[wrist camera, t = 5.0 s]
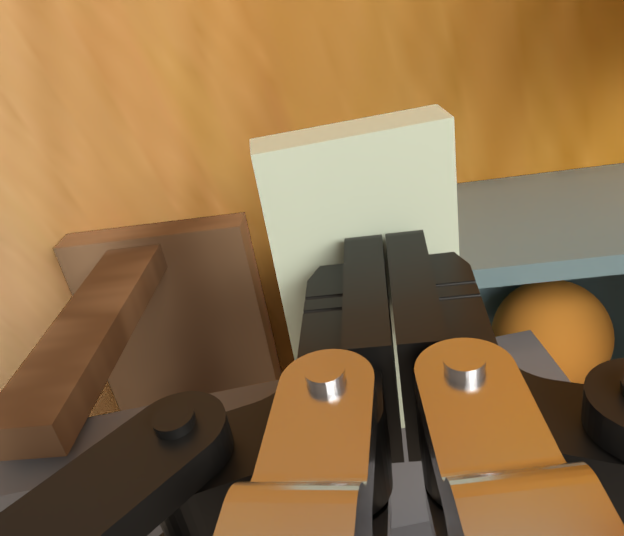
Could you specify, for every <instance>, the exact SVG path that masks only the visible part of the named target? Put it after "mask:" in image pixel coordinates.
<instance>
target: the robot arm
mask: <svg viewBox="0 0 624 536" xmlns="http://www.w3.org/2000/svg"><path fill="white" fill-rule="evenodd" d="M385 238H386V248H387V258H388V267H389V277H390V287H391V296H392V306H393V316H394V326H395V335H396V345H397V355H398V364H399V374H400V383H401V393H402V402H403V412H404V421H405V431H406V440H407V450H408V459H409V462H415V461H422V469H423V476H424V485H425V496H426V506H427V511H428V516H429V521H430V525H431V530H432V534H433V536H624V358H619V359H613V360H609V361H606V362H603V363H601V364H599V365H597V366H596V367H594V368H593V369H592V370H591V371H590V372H589V373H588V374H587V376H586V378H585V381H584V384H580V383H573V382H566V381H558V380H552V379H547V378H542V377H539V376H535V375H533V374H530V373H528V372H525V371H523V370H521V369H520V368H518V366H517V364H516V362H515V360H514V359H513V357H512V356H511V355H510V354H509V353H508V352H507V351H506V350H505V349H503V348H502V347H500V346H498V343H497V340H496V337H495V335H494V332H493V329H492V326H491V323H490V320H489V317H488V314H487V312H486V309H485V306H484V303H483V300H482V297H481V296H480V291H479V288H478V286H477V283H476V280H475V277H474V274H473V271H472V268H471V265H470V264H469V263H468V262H466V261H465V260H464V259H463V258H461V257H460V256H459V255H457V254H456V253H455V252H447V253H437V254H429V253H428V249H427V245H426V240H425V236H424V232H423V230H414V231H405V232H396V233H387V234H385ZM303 311H304V314H303V317H302V325H301V332H300V340H299V347H298V355H297V359H296V360H295V361H293V362H292V363H291V364H289V365H288V366H287V368H286V369H285V370H284V371H283V373H282V374H281V376H280V379H279V382H278V385H277V389H276V392H275V393H273V394H272V395H270V396H268V397H266V398H264V399H262V400H260V401H257V402H255V403H252V404H249V405H245V406H242V407H239V408H236V409H233V410H230V411H225V408H224V406H223V403H222V402H221V401H220V400H219V399H218V398H217V397H215V396H213V395H211V394H209V393H205V392H201V391H185V392H179V393H175V394H171V395H168V396H166V397H163V398H161V399H159V400H157V401H155V402H153V403H152V404H150V405H149V406H147V407H146V408H144V409H143V410H142V411H140V412H139V413H137V414H136V415H135V416H133V417H132V418H131V419H129V420H128V421H126V422H125V423H124V424H122V425H121V426H119V427H118V428H117V429H115V430H114V431H112V432H111V433H110V434H108V435H107V436H106V437H104V438H103V439H101V440H100V441H99V442H97V443H96V444H94V445H93V446H92V447H90V448H89V449H88V450H86V451H85V452H83V453H82V454H81V455H79V456H78V457H76V458H75V459H74V460H72V461H71V462H69V463H68V464H67V465H65V466H64V467H63V468H61V469H60V470H58V471H57V472H56V473H54V474H53V475H51V476H50V477H49V478H47V479H46V480H44V481H43V482H42V483H40V484H39V485H38V486H36V487H35V488H33V489H32V490H31V491H29V492H28V493H26V494H25V495H24V496H22V497H21V498H19V499H18V500H17V501H15V502H14V503H13V504H11V505H10V506H8V507H7V508H6V509H4V510H3V511H1V512H0V536H147V535H148V534H150V533H151V532H152V531H153V530H154V529H155V528H156V527H158V526H159V525H160V526H161V529H162V531H163V533H161V534H160V535H159V536H391V521H392V506H391V497H390V496H391V493H392V489H393V476H392V463H403V462H404V451H403V441H402V430H401V420H400V409H399V399H398V388H397V377H396V367H395V356H394V346H393V335H392V325H391V316H390V306H389V297H388V288H387V278H386V269H385V260H384V250H383V241H382V234H379V235H370V236H361V237H352V238H345V239H344V263H343V264H333V265H324V266H319V268H318V269H317V270H316V271H315V272H314V274H313V275H312V276H311V277H310V278H309V279H308V281H307V287H306V294H305V302H304V309H303Z"/></svg>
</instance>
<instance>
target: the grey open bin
mask: <svg viewBox="0 0 624 536" xmlns="http://www.w3.org/2000/svg"><path fill="white" fill-rule="evenodd" d="M457 205H458V230H459V255H460V257H461V258H463V259H464V260H465V261H466V262H468V263H469V264H470V265H471V268H472V271H473V274H474V277H475V280H476V283H477V286H478V288H479V291H480V296H481V297H482V300H483V303H484V306H485V309H486V312H487V314H488V317H489V320H490V323H491V326H492V322H493V319H494V316H495V313H496V311H497V309H498V307H499V306H500V304H501V303H502V301H503V300H504V299H505V298H506V297H507V296H508V295H509V294H510V293H511V292H512V291H514V290H515V289H517V288H518V287H520V286H522V285H524V284H531V283H541V282H551V281H561V280H564V281H568V282H572V283H574V284H577V285H579V286H581V287H583V288H585V289H586V290H588V291H589V292H591V293H592V294H593V295H594V296H595V297H596V298H597V299H598V300H599V301H600V302H601V303H602V304H603V306H604V307H605V309H606V310H607V312H608V314H609V316H610V318H611V321H612V324H613V328H614V336H615V341H614V350H613V354H612V357H611V359H610V360H613V359H619V358H624V163H619V164H611V165H603V166H595V167H587V168H579V169H571V170H563V171H554V172H546V173H538V174H530V175H522V176H514V177H506V178H498V179H490V180H481V181H473V182H465V183H457Z"/></svg>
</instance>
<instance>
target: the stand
mask: <svg viewBox="0 0 624 536" xmlns="http://www.w3.org/2000/svg"><path fill="white" fill-rule="evenodd" d="M53 250H54V252H55V255H56V257H57V260H58V262H59V264H60V267H61V269H62V272H63V274H64V277H65V279H66V281H67V284H68V286H69V289H70V291H71V293H72V298H71V299H70V300H69V302H68V303H67V304H66V306H65V307H64V308H63V310H62V311H61V312H60V314H59V315H58V316H57V318H56V319H55V320H54V322H53V323H52V324H51V326H50V327H49V328H48V330H47V331H46V332H45V334H44V335H43V336H42V338H41V339H40V340H39V342H38V343H37V344H36V346H35V347H34V348H33V350H32V351H31V352H30V354H29V355H28V356H27V358H26V359H25V360H24V362H23V363H22V364H21V366H20V367H19V368H18V370H17V371H16V372H15V374H14V375H13V376H12V378H11V379H10V380H9V382H8V383H7V384H6V386H5V387H4V388H3V390H2V391H1V392H0V461H10V460H23V459H37V458H51V457H64V456H67V455H68V454H69V452H70V450H71V448H72V446H73V444H74V442H75V440H76V439H77V437H78V435H79V433H80V431H81V429H82V427H83V425H84V424H85V422H86V420H87V418H88V416H89V414H90V412H91V410H92V409H93V407H94V405H95V403H96V401H97V399H98V397H99V395H100V394H101V392H102V390H103V388H104V386H105V384H106V382H107V380H108V383H109V385H110V387H111V390H112V392H113V395H114V397H115V400H116V402H117V404H118V407H119V409H120V411H123V410H128V409H133V408H138V407H143V406H148V405H150V404H152V403H153V402H155V401H157V400H159V399H161V398H163V397H166V396H168V395H171V394H175V393H179V392H185V391H201V392H205V393H214V392H219V391H224V390H229V389H234V388H239V387H244V386H249V385H254V384H259V383H265V382H270V381H275V380H279V379H280V376H281V374H282V372H281V368H280V364H279V359H278V355H277V351H276V346H275V342H274V338H273V333H272V329H271V325H270V320H269V316H268V311H267V307H266V303H265V298H264V294H263V290H262V285H261V281H260V277H259V272H258V268H257V264H256V259H255V255H254V251H253V246H252V242H251V238H250V233H249V229H248V224H247V220H246V216H245V212H242V213H234V214H226V215H218V216H210V217H202V218H193V219H185V220H177V221H169V222H161V223H153V224H145V225H136V226H128V227H120V228H112V229H104V230H96V231H88V232H79V233H71V234H66V235H65V236H64V237H63V238H62V239H61V241H60V242H59V243H58V244H57V245H56V246H55V247H54V248H53Z"/></svg>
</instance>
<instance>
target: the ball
mask: <svg viewBox="0 0 624 536" xmlns="http://www.w3.org/2000/svg"><path fill="white" fill-rule="evenodd" d="M492 329H493V332H494V335H495V337H497V336H502V335H507V334H512V333H517V332H522V331H527V330H531V331H532V332H533V334H534V335H535V336H536V338H537V339H538V340H539V341H540V343H541V344H542V345H543V347H544V348H545V349H546V350H547V352H548V353H549V354H550V356H551V357H552V358H553V359H554V361H555V362H556V363H557V365H558V366H559V367H560V368H561V370H562V371H563V372H564V374H565V375H566V376H567V378H568V379H569V380H570V381H571V382H573V383H580V384H584V381H585V378H586V376H587V374H588V373H589V372H590V371H591V370H592V369H593V368H594V367H596V366H597V365H599V364H601V363H603V362H606V361H609V360H610V359H611V357H612V354H613V350H614V341H615V336H614V328H613V324H612V321H611V318H610V316H609V314H608V312H607V310H606V309H605V307H604V306H603V304H602V303H601V302H600V301H599V300H598V299H597V298H596V297H595V296H594V295H593V294H592V293H591V292H589V291H588V290H586V289H585V288H583V287H581V286H579V285H577V284H574V283H572V282H568V281H564V280H561V281H551V282H541V283H531V284H524V285H522V286H520V287H518V288H517V289H515V290H514V291H512V292H511V293H510V294H509V295H508V296H507V297H506V298H505V299H504V300H503V301H502V303H501V304H500V306H499V307H498V309H497V311H496V313H495V316H494V319H493V322H492Z"/></svg>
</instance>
